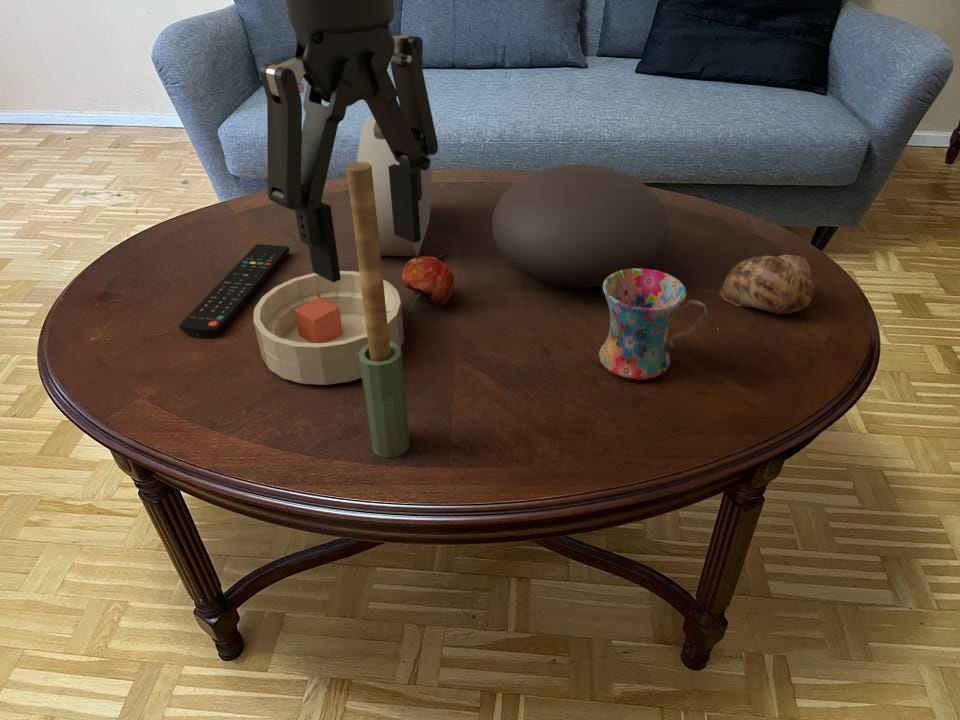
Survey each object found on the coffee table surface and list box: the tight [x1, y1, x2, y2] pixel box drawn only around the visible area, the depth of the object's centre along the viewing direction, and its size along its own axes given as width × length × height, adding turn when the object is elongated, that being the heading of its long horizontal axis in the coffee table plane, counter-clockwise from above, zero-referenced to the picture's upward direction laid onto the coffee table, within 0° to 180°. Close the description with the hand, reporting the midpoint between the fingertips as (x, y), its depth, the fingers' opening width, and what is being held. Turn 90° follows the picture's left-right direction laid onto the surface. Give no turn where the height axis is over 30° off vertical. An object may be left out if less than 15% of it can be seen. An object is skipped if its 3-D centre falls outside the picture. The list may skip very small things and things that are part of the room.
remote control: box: [178, 243, 290, 339], centre depth 102 cm, size 5×24×1 cm, turn 170°
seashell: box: [719, 254, 814, 315], centre depth 96 cm, size 10×9×10 cm
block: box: [294, 297, 343, 343], centre depth 91 cm, size 4×4×4 cm
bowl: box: [252, 270, 405, 386], centre depth 89 cm, size 18×18×6 cm
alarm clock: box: [356, 115, 432, 258], centre depth 110 cm, size 21×8×20 cm, turn 175°
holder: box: [359, 342, 410, 459], centre depth 72 cm, size 4×4×12 cm
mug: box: [598, 268, 708, 381], centre depth 84 cm, size 12×9×11 cm
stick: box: [346, 161, 391, 362], centre depth 67 cm, size 2×2×30 cm
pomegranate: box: [401, 251, 455, 316], centre depth 97 cm, size 7×7×10 cm
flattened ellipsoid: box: [491, 163, 670, 288], centre depth 102 cm, size 25×25×15 cm
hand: (369, 255), depth 63 cm, fingers open, 9 cm apart
